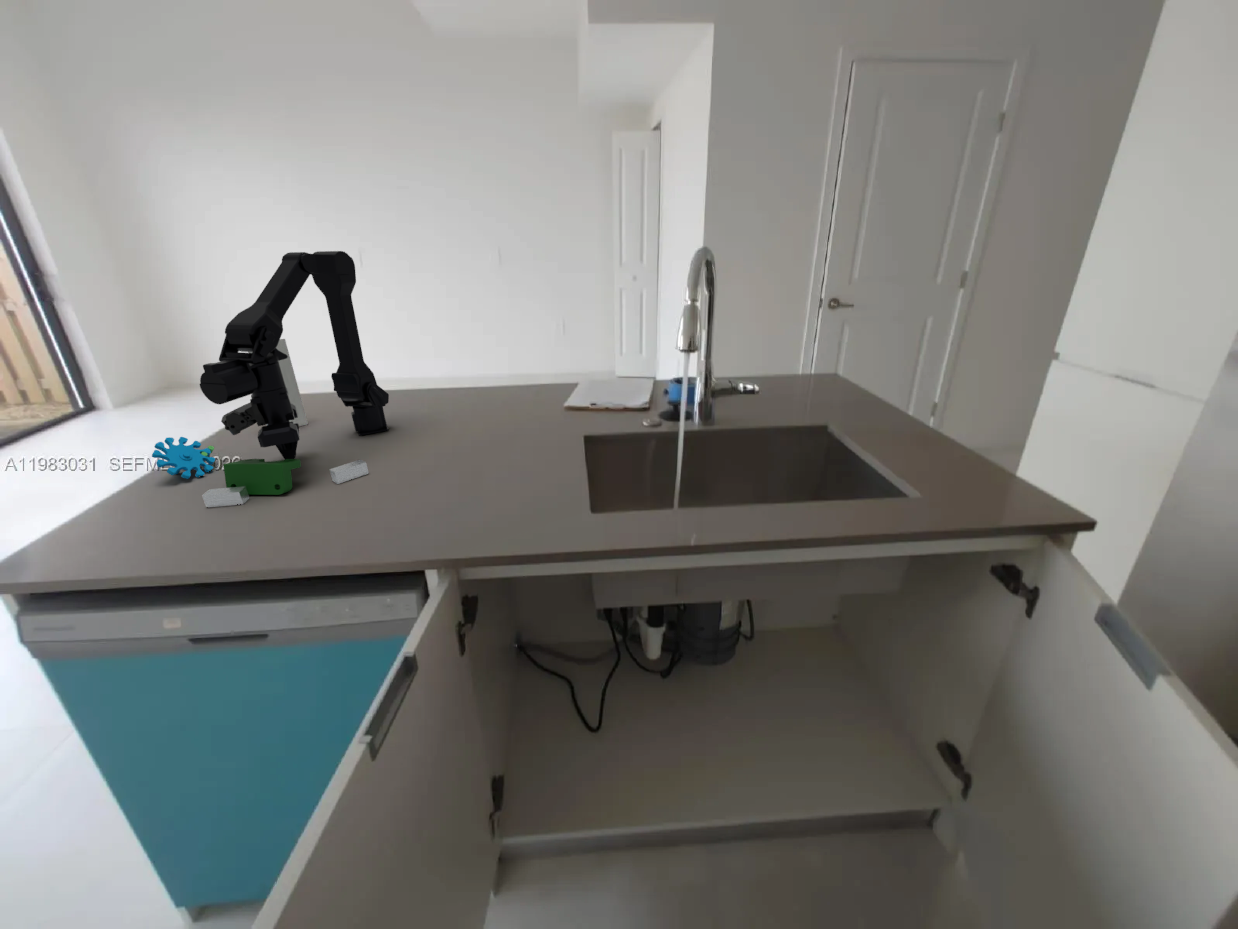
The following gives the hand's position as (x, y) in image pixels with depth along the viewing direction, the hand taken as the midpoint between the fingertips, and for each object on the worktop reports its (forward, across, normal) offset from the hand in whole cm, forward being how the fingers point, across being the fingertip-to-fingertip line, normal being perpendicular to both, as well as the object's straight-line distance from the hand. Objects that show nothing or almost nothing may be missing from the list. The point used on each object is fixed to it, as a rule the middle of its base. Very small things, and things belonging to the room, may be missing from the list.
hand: (291, 464), depth 109 cm
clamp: (+2, +7, -4) cm, 8 cm away
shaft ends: (+1, +10, 0) cm, 10 cm away
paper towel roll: (+2, -31, -1) cm, 31 cm away
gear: (+2, -10, -18) cm, 20 cm away
